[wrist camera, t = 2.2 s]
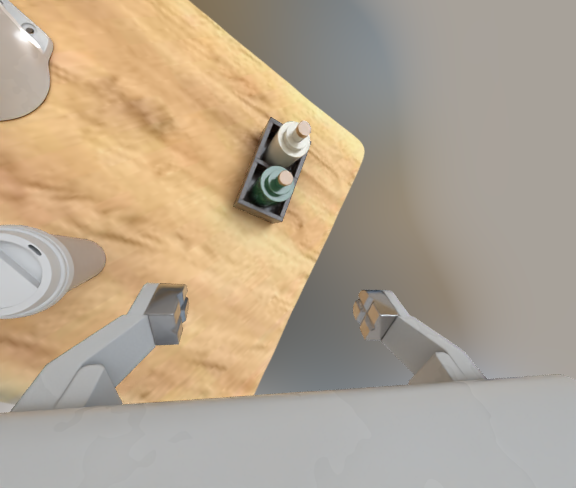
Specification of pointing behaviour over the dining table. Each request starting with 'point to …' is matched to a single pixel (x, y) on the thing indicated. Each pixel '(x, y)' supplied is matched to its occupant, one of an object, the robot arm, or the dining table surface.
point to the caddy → (257, 168)
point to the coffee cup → (42, 268)
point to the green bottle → (271, 187)
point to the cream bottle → (288, 144)
